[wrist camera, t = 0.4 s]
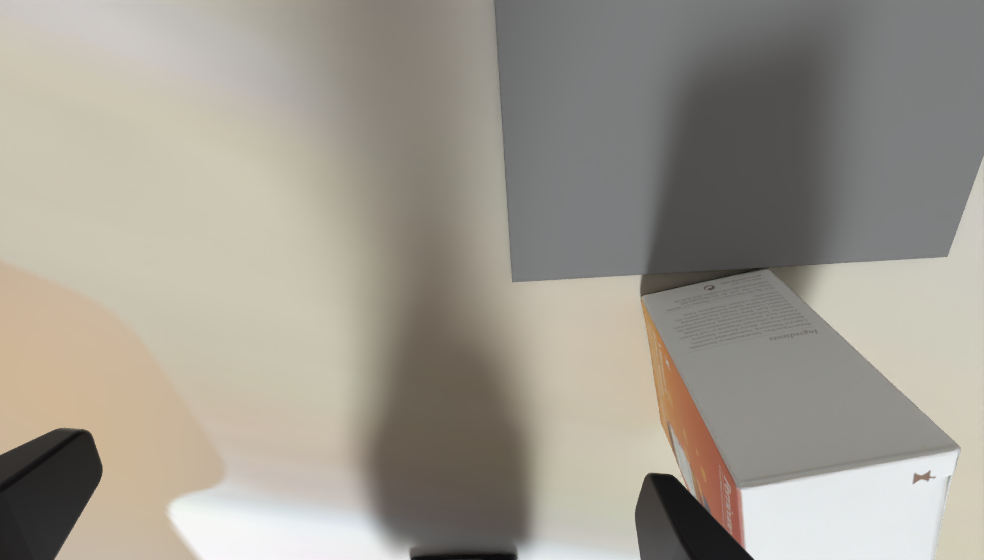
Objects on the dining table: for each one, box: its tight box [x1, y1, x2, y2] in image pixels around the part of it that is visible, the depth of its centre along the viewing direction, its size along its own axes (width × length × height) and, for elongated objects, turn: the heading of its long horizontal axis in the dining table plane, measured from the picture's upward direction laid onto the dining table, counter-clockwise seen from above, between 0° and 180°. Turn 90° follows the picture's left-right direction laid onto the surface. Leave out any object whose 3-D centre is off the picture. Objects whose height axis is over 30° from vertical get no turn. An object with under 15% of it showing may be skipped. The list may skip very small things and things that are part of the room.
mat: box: [495, 0, 984, 282], centre depth 19 cm, size 11×18×1 cm, turn 94°
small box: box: [641, 268, 961, 560], centre depth 19 cm, size 8×6×10 cm
